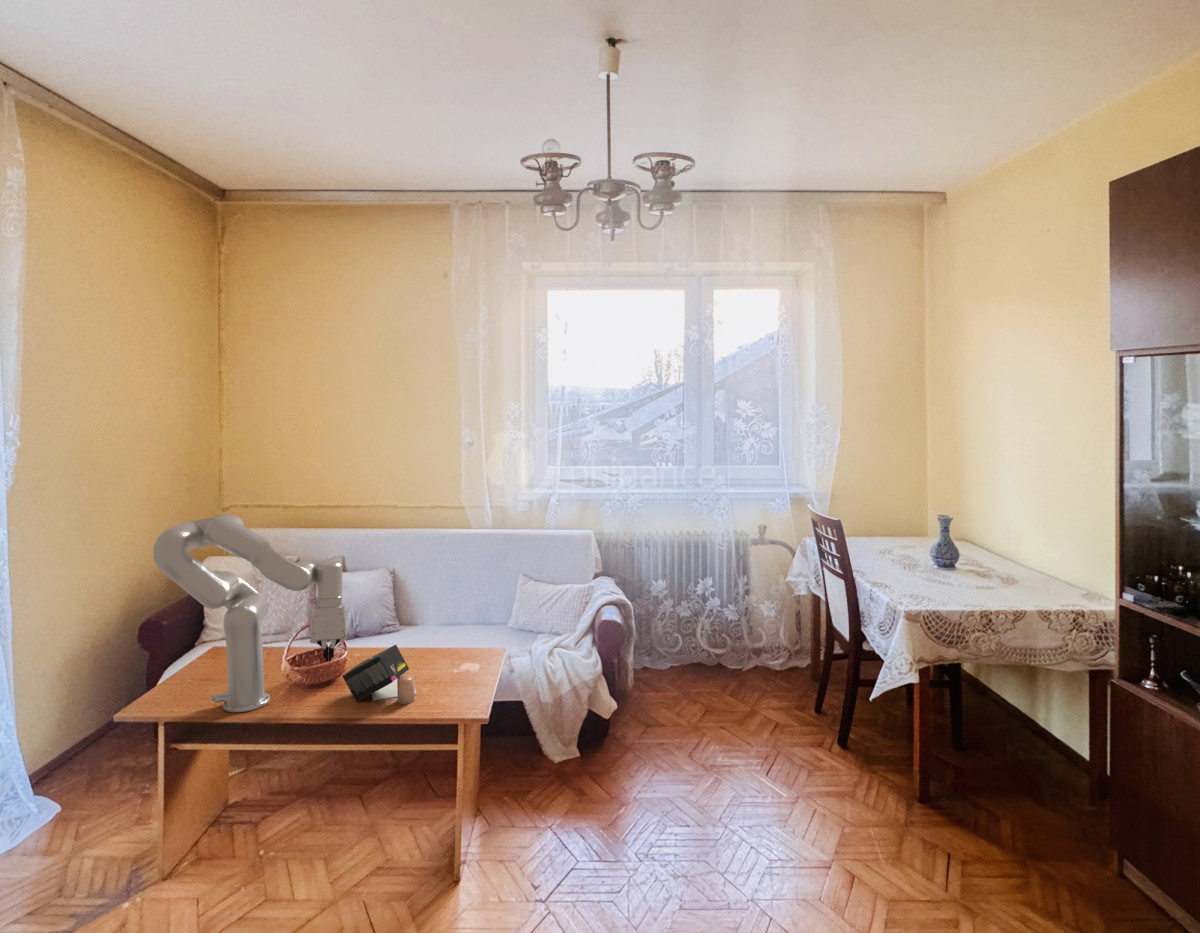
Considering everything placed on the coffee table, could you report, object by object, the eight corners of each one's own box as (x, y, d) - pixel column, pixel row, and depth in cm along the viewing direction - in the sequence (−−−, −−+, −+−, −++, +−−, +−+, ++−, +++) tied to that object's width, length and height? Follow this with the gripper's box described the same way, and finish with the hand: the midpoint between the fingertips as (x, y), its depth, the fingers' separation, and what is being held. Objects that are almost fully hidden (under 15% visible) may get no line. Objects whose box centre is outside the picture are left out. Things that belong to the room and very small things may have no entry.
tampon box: (355, 703, 199) (393, 683, 196) (340, 676, 200) (378, 656, 196) (374, 687, 210) (410, 669, 207) (360, 662, 210) (396, 643, 207)
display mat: (372, 700, 201) (372, 699, 201) (370, 682, 215) (370, 681, 215) (416, 694, 206) (416, 693, 206) (411, 676, 220) (411, 676, 220)
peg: (398, 705, 198) (398, 682, 197) (396, 698, 202) (396, 676, 202) (415, 702, 199) (415, 680, 199) (413, 696, 204) (413, 674, 204)
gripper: (301, 606, 196) (301, 666, 197) (354, 603, 202) (354, 661, 203) (303, 600, 203) (302, 658, 204) (354, 597, 209) (354, 653, 210)
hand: (328, 659), depth 204 cm, fingers closed
